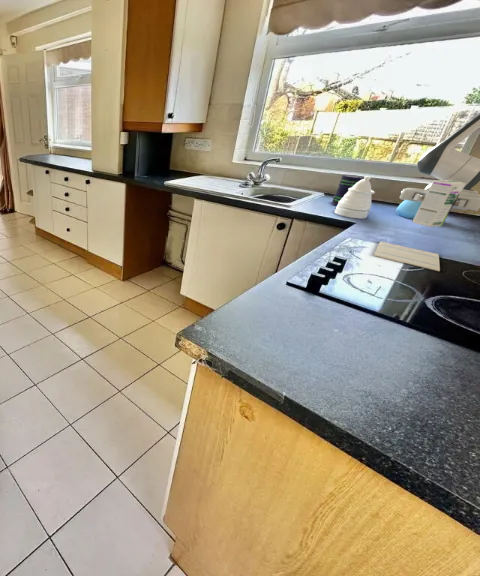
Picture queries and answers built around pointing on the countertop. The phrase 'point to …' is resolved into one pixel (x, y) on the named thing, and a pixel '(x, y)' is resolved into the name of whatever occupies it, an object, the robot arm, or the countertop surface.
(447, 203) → the syrup box
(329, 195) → the countertop surface
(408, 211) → the sugar bowl
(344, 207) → the honey pot
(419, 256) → the wooden board
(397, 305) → the countertop surface
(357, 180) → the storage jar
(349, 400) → the countertop surface
